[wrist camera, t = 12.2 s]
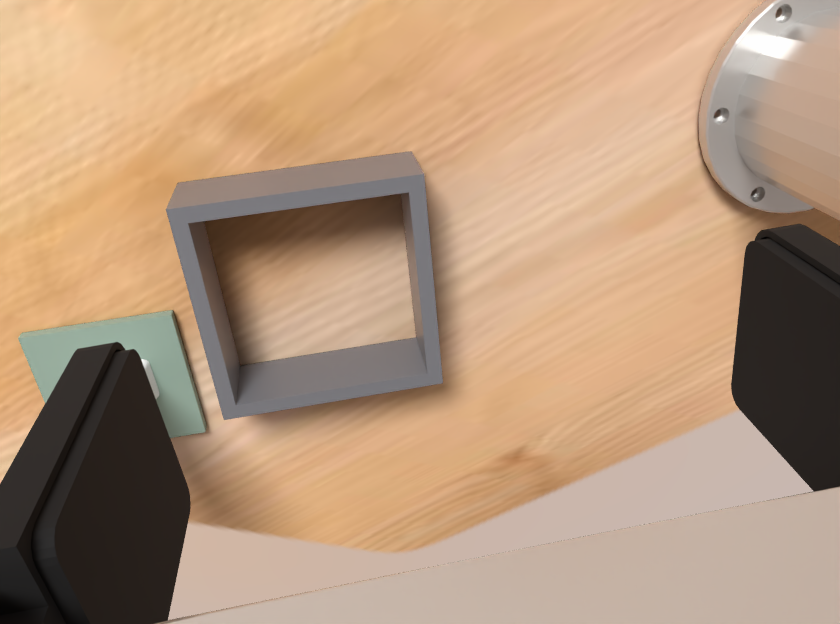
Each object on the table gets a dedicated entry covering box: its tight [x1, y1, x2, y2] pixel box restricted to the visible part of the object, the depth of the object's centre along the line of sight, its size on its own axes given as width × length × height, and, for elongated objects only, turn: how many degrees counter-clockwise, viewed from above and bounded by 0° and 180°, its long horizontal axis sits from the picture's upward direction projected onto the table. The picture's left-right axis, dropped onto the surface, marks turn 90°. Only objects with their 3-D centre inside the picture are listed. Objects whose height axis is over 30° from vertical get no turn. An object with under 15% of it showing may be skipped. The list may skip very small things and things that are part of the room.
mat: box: [18, 310, 207, 438], centre depth 41 cm, size 8×8×1 cm
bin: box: [166, 151, 443, 420], centre depth 38 cm, size 12×12×4 cm
